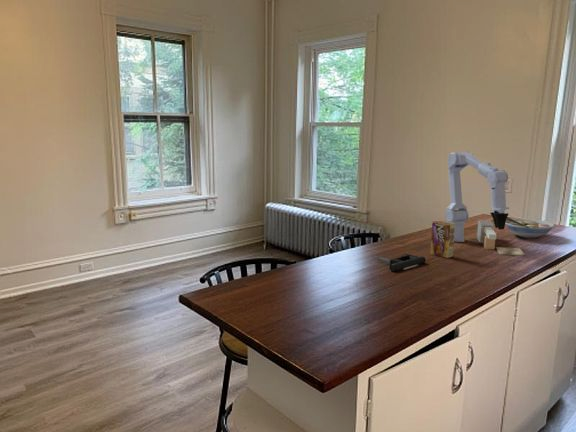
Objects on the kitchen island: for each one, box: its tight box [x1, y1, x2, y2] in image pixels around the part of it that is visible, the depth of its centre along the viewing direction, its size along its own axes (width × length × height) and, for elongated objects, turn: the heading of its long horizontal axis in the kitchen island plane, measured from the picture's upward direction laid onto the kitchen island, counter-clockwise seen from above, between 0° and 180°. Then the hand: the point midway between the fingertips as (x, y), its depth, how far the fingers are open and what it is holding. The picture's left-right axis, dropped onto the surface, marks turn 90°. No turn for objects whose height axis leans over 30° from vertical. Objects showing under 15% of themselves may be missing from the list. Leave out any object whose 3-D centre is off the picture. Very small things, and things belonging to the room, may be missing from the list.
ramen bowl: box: [505, 216, 555, 239], centre depth 223 cm, size 25×23×8 cm
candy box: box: [430, 219, 455, 259], centre depth 192 cm, size 9×4×15 cm, turn 39°
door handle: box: [376, 253, 426, 272], centre depth 182 cm, size 3×20×16 cm
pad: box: [495, 246, 526, 256], centre depth 197 cm, size 10×10×1 cm
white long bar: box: [483, 226, 497, 240], centre depth 204 cm, size 3×18×2 cm, turn 163°
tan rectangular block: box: [483, 236, 496, 250], centre depth 203 cm, size 4×4×6 cm
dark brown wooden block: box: [476, 219, 495, 244], centre depth 217 cm, size 6×12×9 cm, turn 163°
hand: (499, 228), depth 192 cm, fingers open, 7 cm apart
